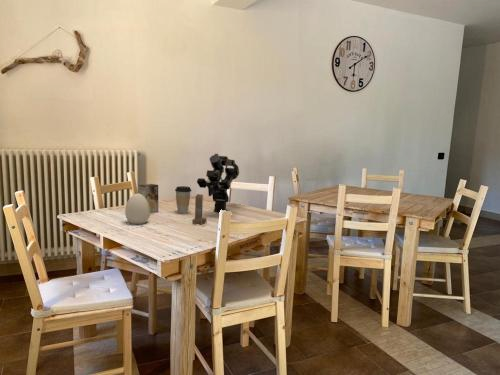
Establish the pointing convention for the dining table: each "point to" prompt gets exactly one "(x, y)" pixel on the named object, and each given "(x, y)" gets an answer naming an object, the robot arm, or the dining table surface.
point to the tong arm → (202, 203)
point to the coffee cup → (182, 199)
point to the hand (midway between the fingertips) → (209, 195)
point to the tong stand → (198, 212)
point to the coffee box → (150, 195)
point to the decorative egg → (137, 209)
